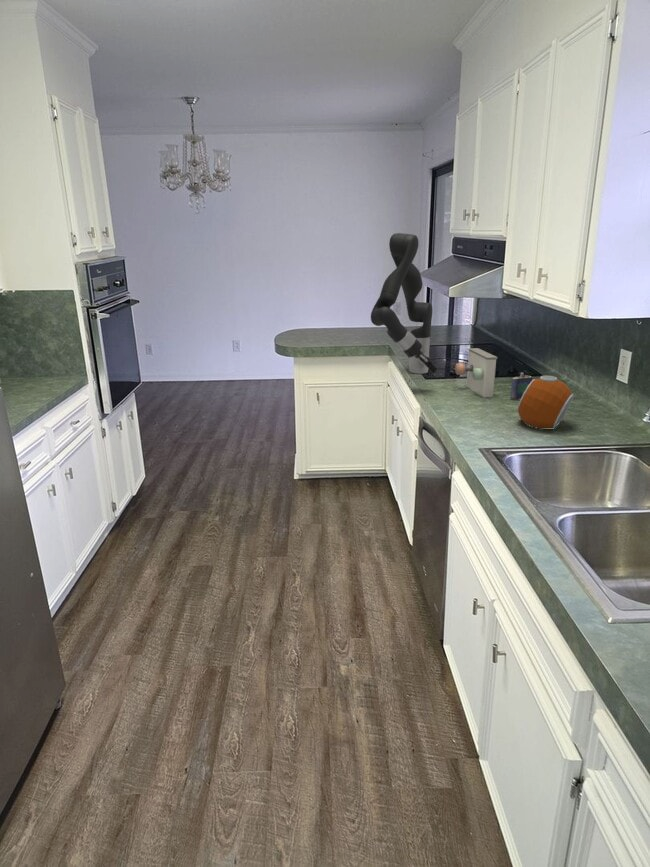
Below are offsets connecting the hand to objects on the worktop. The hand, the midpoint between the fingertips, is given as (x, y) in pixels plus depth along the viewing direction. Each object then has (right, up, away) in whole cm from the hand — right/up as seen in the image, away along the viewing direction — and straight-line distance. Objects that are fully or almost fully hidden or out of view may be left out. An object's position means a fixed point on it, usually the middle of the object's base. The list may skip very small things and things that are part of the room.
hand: (434, 370), depth 248 cm
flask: (+33, -13, -9) cm, 37 cm away
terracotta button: (+14, -1, +3) cm, 15 cm away
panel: (+19, -9, +1) cm, 21 cm away
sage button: (+20, -4, -6) cm, 21 cm away
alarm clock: (+31, -24, -40) cm, 56 cm away
